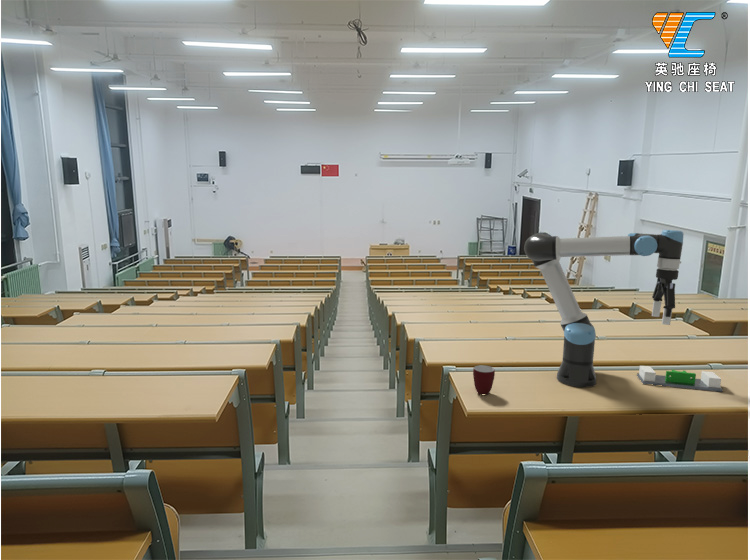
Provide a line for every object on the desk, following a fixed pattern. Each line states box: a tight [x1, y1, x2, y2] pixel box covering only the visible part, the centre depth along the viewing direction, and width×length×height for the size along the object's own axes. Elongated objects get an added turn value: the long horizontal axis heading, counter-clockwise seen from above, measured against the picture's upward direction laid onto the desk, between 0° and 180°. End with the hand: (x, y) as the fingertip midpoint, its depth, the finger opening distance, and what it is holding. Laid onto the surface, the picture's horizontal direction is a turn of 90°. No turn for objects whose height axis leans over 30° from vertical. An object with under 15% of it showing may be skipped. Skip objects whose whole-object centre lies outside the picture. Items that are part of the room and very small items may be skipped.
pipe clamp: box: [665, 369, 697, 384], centre depth 193 cm, size 10×4×4 cm, turn 75°
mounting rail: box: [636, 365, 723, 393], centre depth 193 cm, size 28×10×5 cm, turn 74°
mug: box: [472, 364, 496, 395], centre depth 183 cm, size 11×8×10 cm
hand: (660, 320), depth 191 cm, fingers open, 13 cm apart
